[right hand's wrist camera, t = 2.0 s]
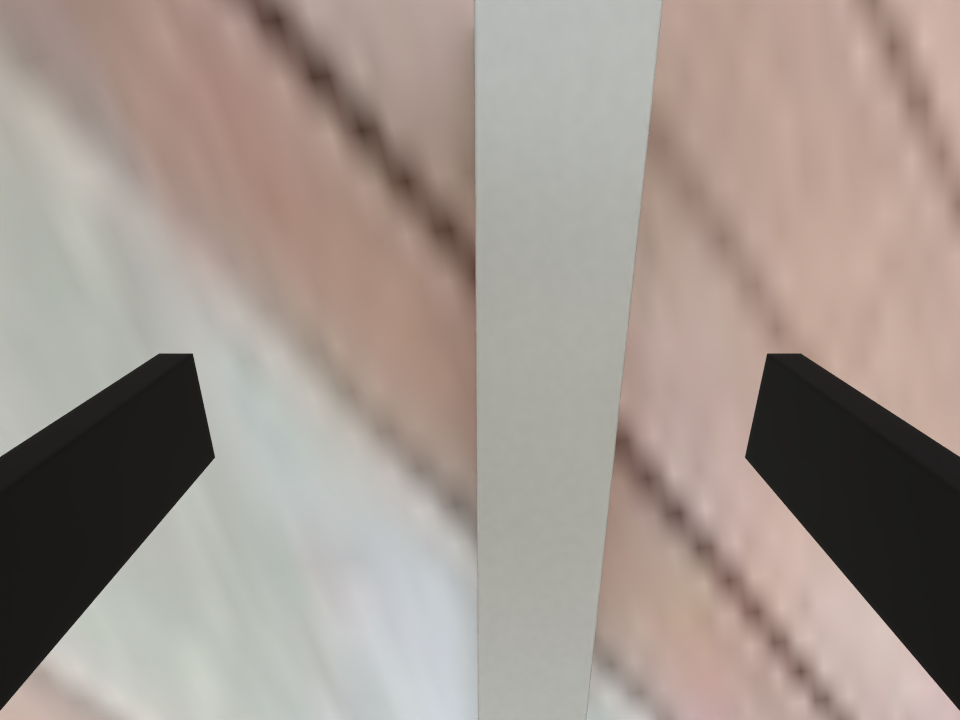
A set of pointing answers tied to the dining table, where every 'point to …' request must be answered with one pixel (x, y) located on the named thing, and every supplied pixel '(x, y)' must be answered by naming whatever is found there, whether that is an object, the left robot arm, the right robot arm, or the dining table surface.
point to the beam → (551, 327)
